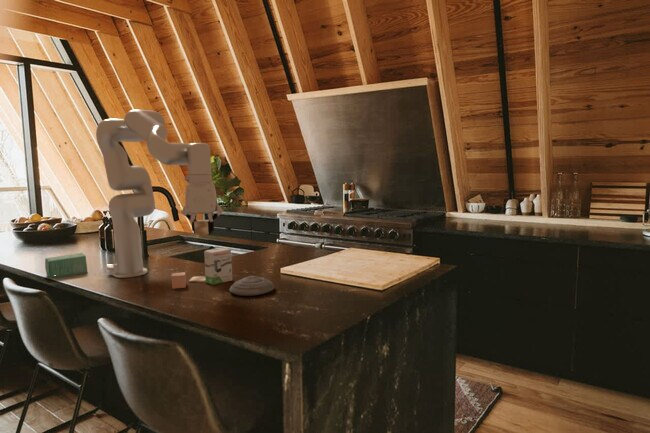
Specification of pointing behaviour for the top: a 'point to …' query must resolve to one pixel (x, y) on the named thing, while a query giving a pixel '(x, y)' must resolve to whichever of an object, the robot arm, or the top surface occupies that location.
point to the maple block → (201, 227)
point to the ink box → (218, 265)
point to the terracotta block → (178, 280)
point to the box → (66, 265)
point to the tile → (198, 279)
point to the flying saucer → (252, 286)
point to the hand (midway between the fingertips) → (203, 232)
